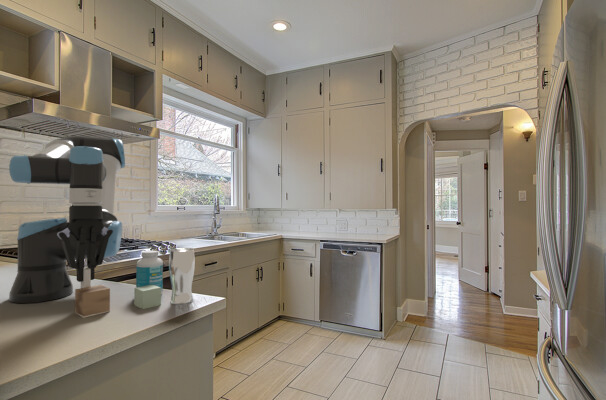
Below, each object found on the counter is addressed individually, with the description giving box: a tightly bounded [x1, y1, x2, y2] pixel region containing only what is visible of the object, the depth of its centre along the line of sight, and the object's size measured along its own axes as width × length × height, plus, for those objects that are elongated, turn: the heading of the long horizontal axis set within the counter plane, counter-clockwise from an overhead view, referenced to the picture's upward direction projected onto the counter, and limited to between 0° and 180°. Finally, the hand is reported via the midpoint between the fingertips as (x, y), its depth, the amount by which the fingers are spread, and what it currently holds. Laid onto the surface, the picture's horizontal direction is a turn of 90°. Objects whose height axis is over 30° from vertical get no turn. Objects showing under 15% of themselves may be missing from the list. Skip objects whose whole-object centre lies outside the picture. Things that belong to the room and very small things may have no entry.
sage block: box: [133, 285, 162, 310], centre depth 94 cm, size 5×5×5 cm
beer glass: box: [168, 247, 196, 306], centre depth 97 cm, size 7×7×15 cm
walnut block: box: [74, 284, 111, 318], centre depth 87 cm, size 6×6×6 cm
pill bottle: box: [135, 250, 164, 295], centre depth 103 cm, size 8×7×14 cm
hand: (85, 292), depth 90 cm, fingers closed
